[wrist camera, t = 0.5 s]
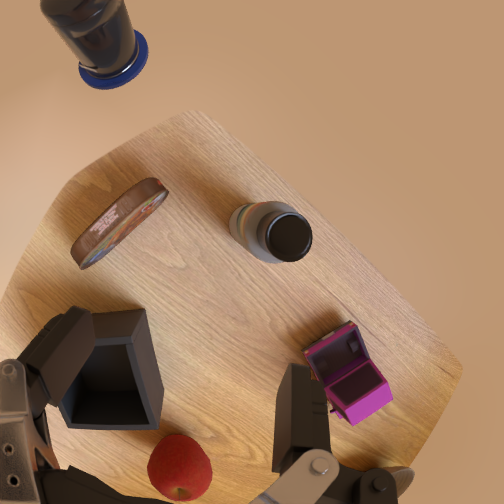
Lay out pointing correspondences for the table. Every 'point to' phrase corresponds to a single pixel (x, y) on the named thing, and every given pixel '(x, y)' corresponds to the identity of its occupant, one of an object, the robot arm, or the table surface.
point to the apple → (179, 468)
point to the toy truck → (348, 374)
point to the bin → (117, 378)
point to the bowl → (401, 477)
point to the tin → (118, 221)
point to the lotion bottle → (271, 231)
